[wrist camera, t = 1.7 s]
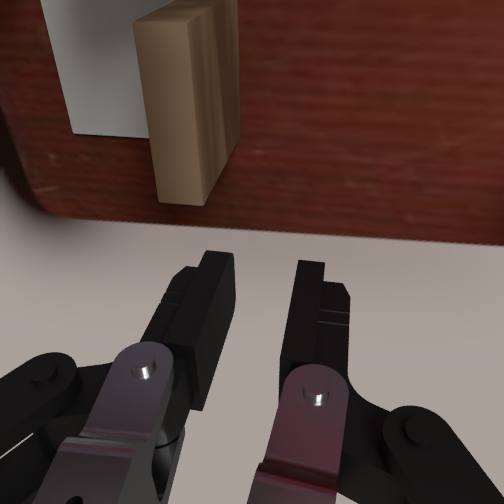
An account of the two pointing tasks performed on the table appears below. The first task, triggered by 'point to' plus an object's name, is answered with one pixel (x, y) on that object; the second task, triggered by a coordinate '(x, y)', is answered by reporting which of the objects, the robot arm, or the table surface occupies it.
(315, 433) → the robot arm
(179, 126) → the tile
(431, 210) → the table surface
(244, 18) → the table surface
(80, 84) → the mat
